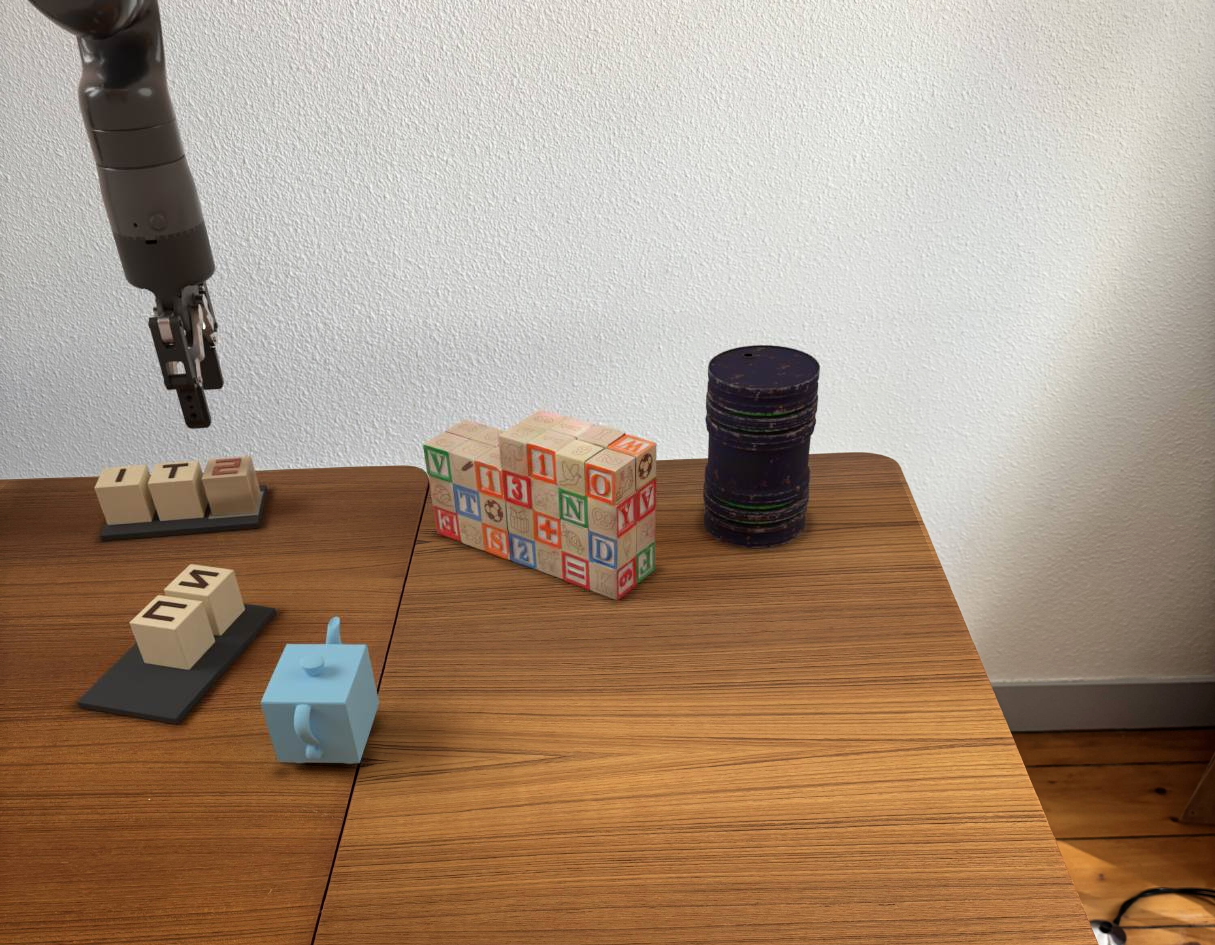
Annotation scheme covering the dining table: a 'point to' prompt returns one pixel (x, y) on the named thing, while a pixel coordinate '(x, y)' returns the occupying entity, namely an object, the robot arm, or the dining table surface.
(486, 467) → the stack of blocks
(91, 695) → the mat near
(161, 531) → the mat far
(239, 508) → the tile
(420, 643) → the dining table surface
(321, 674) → the teapot
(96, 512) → the dining table surface
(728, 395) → the storage jar
